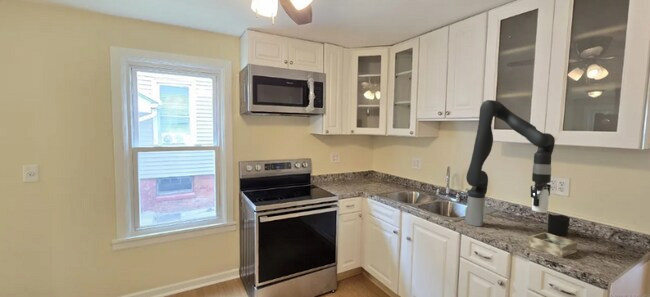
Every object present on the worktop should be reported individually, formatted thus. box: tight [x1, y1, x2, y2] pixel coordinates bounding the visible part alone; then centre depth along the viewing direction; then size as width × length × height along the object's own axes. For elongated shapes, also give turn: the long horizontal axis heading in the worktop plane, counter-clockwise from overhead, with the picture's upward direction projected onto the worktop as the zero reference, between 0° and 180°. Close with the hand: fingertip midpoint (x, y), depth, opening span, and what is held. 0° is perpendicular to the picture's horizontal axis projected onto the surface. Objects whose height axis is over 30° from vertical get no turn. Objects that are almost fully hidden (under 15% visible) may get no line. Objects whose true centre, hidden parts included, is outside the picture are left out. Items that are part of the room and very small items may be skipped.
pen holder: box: [547, 213, 570, 237], centre depth 162 cm, size 9×9×10 cm
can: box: [531, 189, 550, 214], centre depth 145 cm, size 6×6×12 cm
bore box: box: [528, 231, 578, 259], centre depth 141 cm, size 14×14×5 cm
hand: (539, 205), depth 145 cm, fingers closed on can, 6 cm apart
